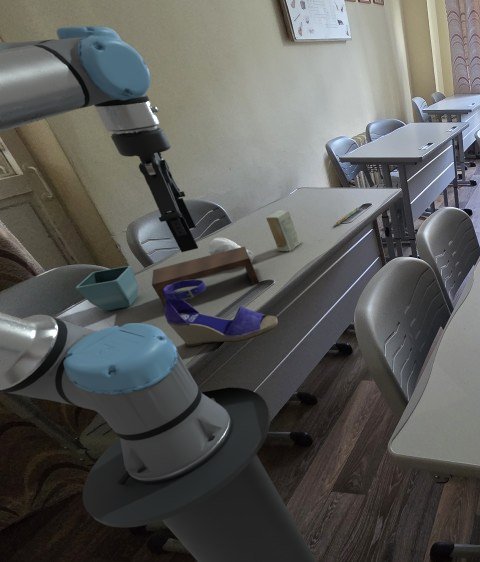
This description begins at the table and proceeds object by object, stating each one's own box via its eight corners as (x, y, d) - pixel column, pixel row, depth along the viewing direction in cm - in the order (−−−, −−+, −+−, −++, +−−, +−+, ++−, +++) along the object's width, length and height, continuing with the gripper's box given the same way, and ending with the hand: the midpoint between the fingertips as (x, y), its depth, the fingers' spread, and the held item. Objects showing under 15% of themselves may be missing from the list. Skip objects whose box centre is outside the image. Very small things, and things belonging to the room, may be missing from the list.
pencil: (335, 227, 148) (360, 210, 163) (335, 224, 147) (359, 207, 162) (332, 227, 148) (357, 210, 163) (332, 224, 148) (356, 207, 163)
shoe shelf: (166, 310, 104) (151, 284, 100) (167, 294, 111) (153, 269, 107) (259, 282, 115) (249, 258, 110) (254, 269, 122) (244, 246, 118)
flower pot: (94, 317, 103) (73, 287, 98) (110, 299, 110) (92, 271, 106) (134, 309, 105) (116, 280, 101) (147, 293, 112) (131, 265, 108)
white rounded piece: (217, 233, 124) (254, 236, 124) (225, 257, 129) (261, 260, 128) (202, 242, 119) (241, 245, 118) (212, 267, 123) (249, 270, 123)
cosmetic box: (289, 243, 138) (277, 209, 131) (300, 243, 137) (289, 209, 131) (277, 251, 132) (264, 217, 126) (289, 252, 132) (277, 217, 125)
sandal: (272, 337, 92) (248, 281, 84) (177, 352, 89) (143, 296, 81) (281, 317, 99) (259, 264, 91) (193, 330, 96) (163, 276, 88)
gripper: (159, 135, 64) (214, 254, 75) (163, 119, 82) (207, 216, 92) (98, 143, 60) (165, 266, 71) (116, 124, 78) (168, 225, 89)
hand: (189, 238), depth 82 cm, fingers open, 13 cm apart
